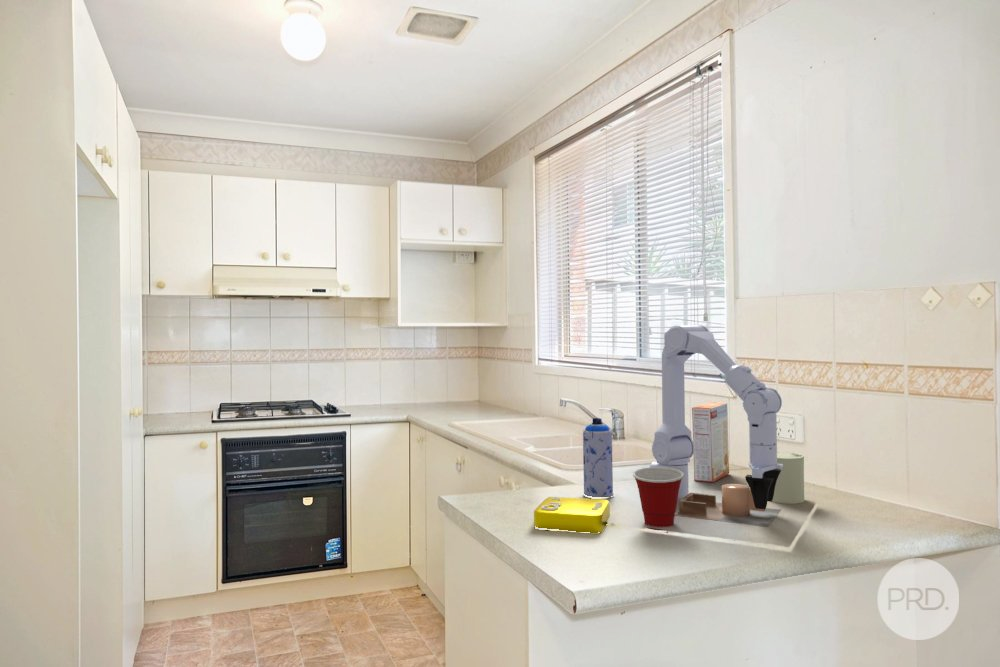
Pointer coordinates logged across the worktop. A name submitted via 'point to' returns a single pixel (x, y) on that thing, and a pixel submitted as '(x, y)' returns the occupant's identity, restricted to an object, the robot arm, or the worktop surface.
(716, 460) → the cracker box
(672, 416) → the robot arm
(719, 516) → the cradle
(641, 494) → the plastic cup
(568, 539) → the worktop surface
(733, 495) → the capsule with rectangular tab
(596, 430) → the aerosol can
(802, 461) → the can
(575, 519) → the element tile
